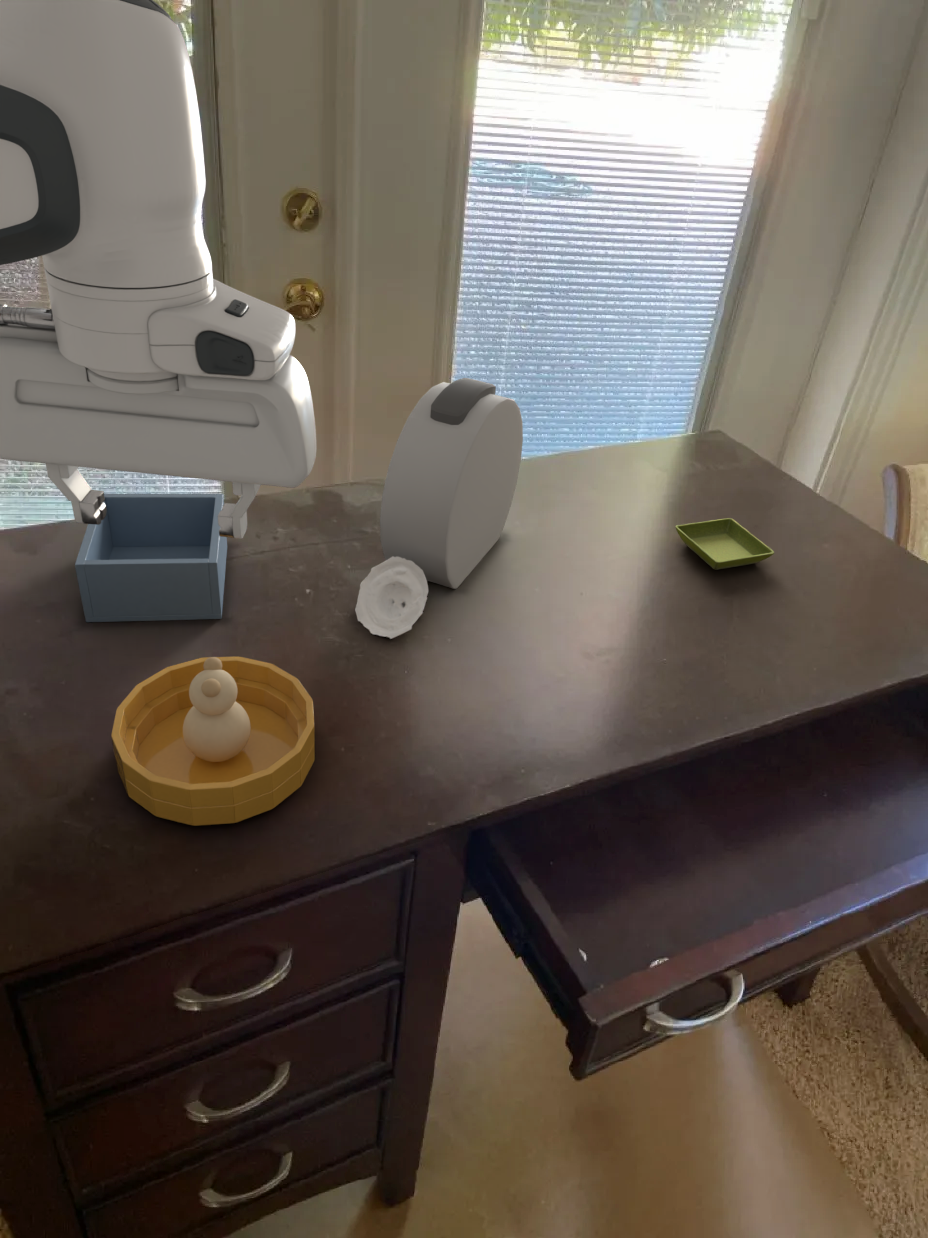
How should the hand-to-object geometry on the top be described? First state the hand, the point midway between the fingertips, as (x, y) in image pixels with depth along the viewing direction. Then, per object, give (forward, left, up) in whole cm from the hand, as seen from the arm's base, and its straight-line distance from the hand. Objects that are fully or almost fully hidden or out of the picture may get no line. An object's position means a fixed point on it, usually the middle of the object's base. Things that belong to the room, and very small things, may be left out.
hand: (162, 526), depth 59 cm
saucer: (+59, +30, -22) cm, 70 cm away
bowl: (+2, 0, -22) cm, 22 cm away
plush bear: (+2, 0, -21) cm, 21 cm away
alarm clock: (+26, +31, -22) cm, 46 cm away
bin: (-5, +26, -22) cm, 34 cm away
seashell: (+18, +18, -22) cm, 34 cm away
